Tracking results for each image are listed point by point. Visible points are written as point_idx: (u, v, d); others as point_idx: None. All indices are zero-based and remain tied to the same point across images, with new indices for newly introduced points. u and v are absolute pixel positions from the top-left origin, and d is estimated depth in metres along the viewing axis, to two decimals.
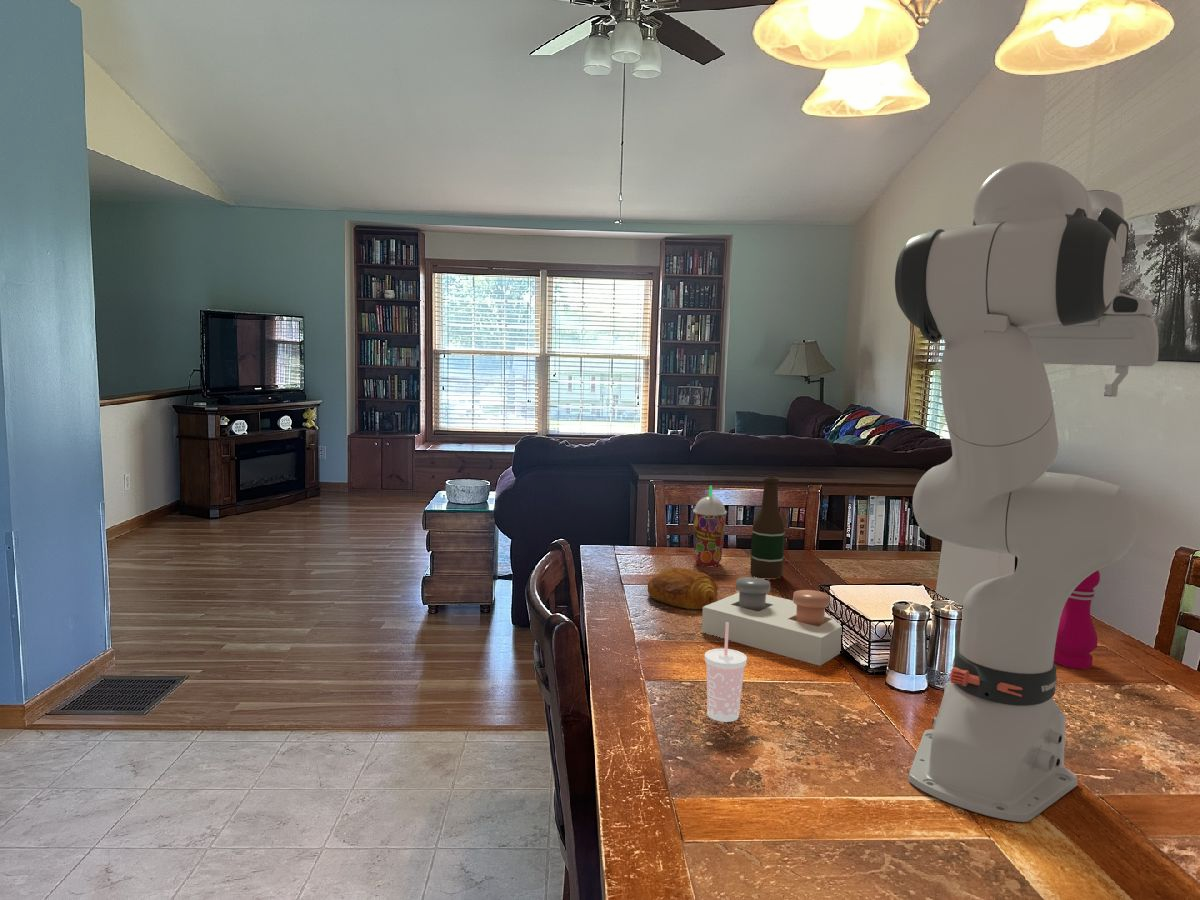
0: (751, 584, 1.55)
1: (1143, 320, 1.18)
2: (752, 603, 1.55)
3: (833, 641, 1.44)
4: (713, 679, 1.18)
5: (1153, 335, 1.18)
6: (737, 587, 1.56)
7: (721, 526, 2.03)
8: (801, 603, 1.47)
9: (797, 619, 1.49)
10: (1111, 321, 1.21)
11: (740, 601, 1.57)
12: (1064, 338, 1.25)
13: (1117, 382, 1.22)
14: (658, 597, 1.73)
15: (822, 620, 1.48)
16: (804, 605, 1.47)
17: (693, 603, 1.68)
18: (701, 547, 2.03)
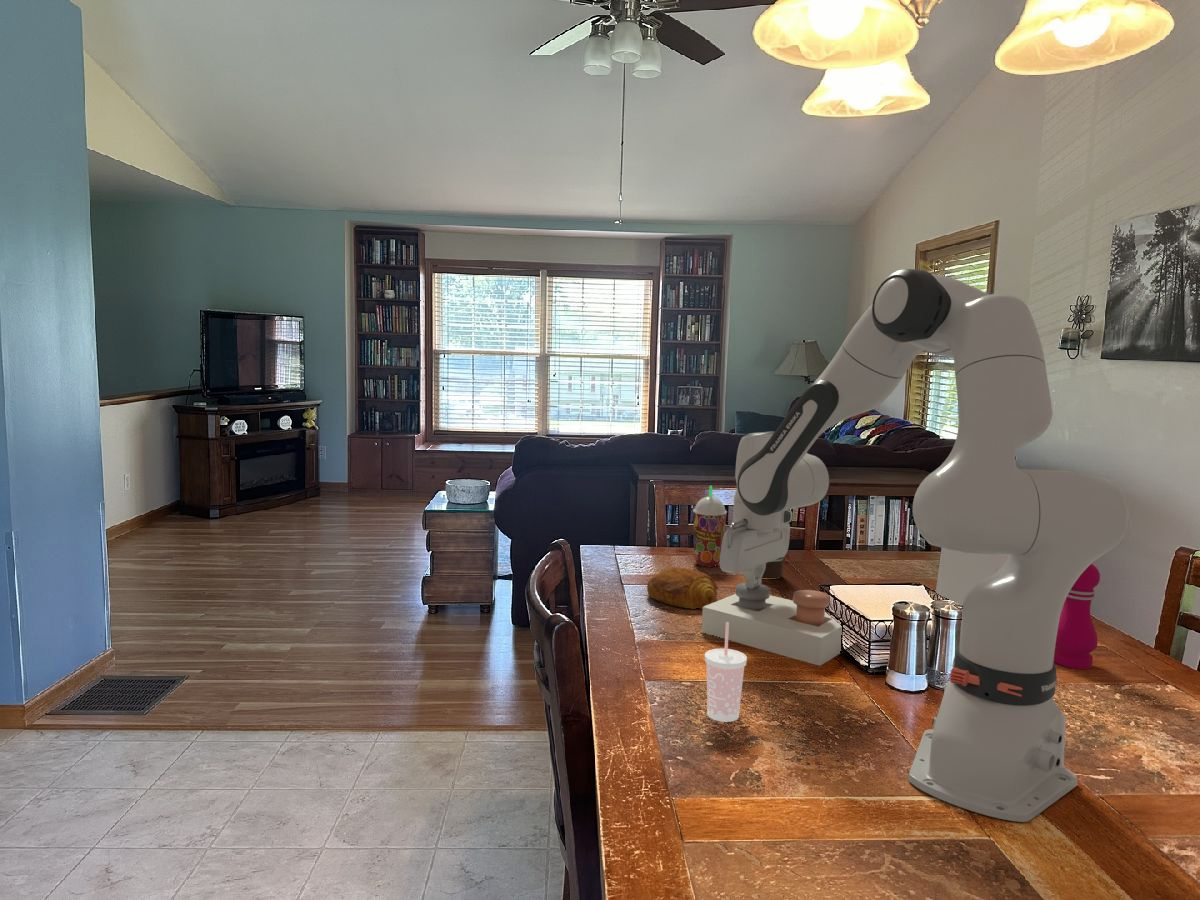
0: (751, 590, 1.55)
1: (788, 525, 1.61)
2: (752, 609, 1.55)
3: (833, 641, 1.44)
4: (714, 679, 1.18)
5: (789, 534, 1.62)
6: (737, 593, 1.57)
7: (721, 526, 2.03)
8: (801, 603, 1.47)
9: (797, 619, 1.49)
10: None
11: None
12: (758, 546, 1.54)
13: (762, 575, 1.58)
14: (657, 597, 1.73)
15: (822, 620, 1.48)
16: (804, 605, 1.47)
17: (692, 602, 1.69)
18: (701, 547, 2.03)
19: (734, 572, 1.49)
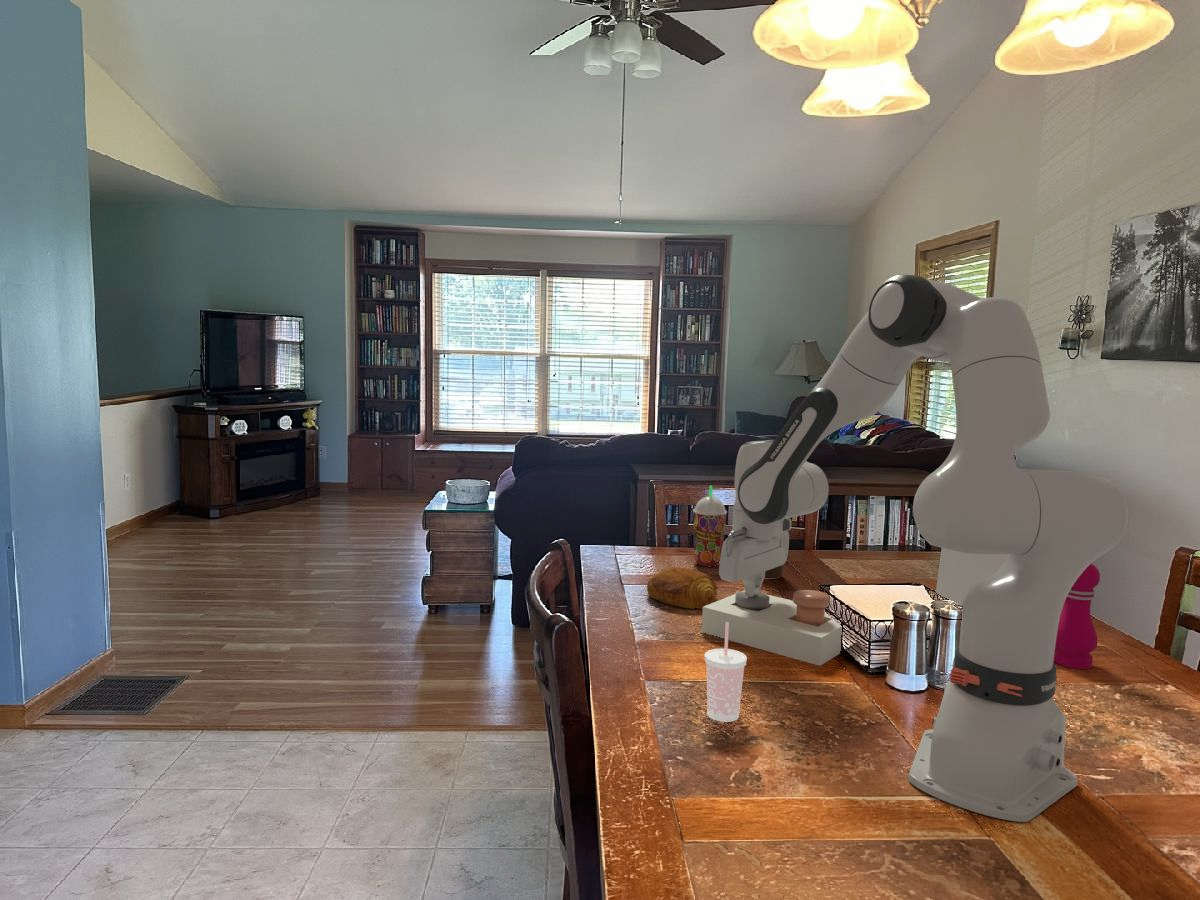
0: (750, 599, 1.55)
1: (787, 533, 1.61)
2: None
3: (833, 641, 1.44)
4: (713, 679, 1.18)
5: (788, 542, 1.62)
6: (736, 602, 1.57)
7: (721, 526, 2.03)
8: (801, 603, 1.47)
9: (797, 619, 1.49)
10: (778, 537, 1.58)
11: None
12: (758, 555, 1.54)
13: (761, 583, 1.58)
14: (657, 597, 1.73)
15: (822, 620, 1.48)
16: (804, 605, 1.47)
17: (692, 602, 1.69)
18: (701, 547, 2.03)
19: (734, 580, 1.49)
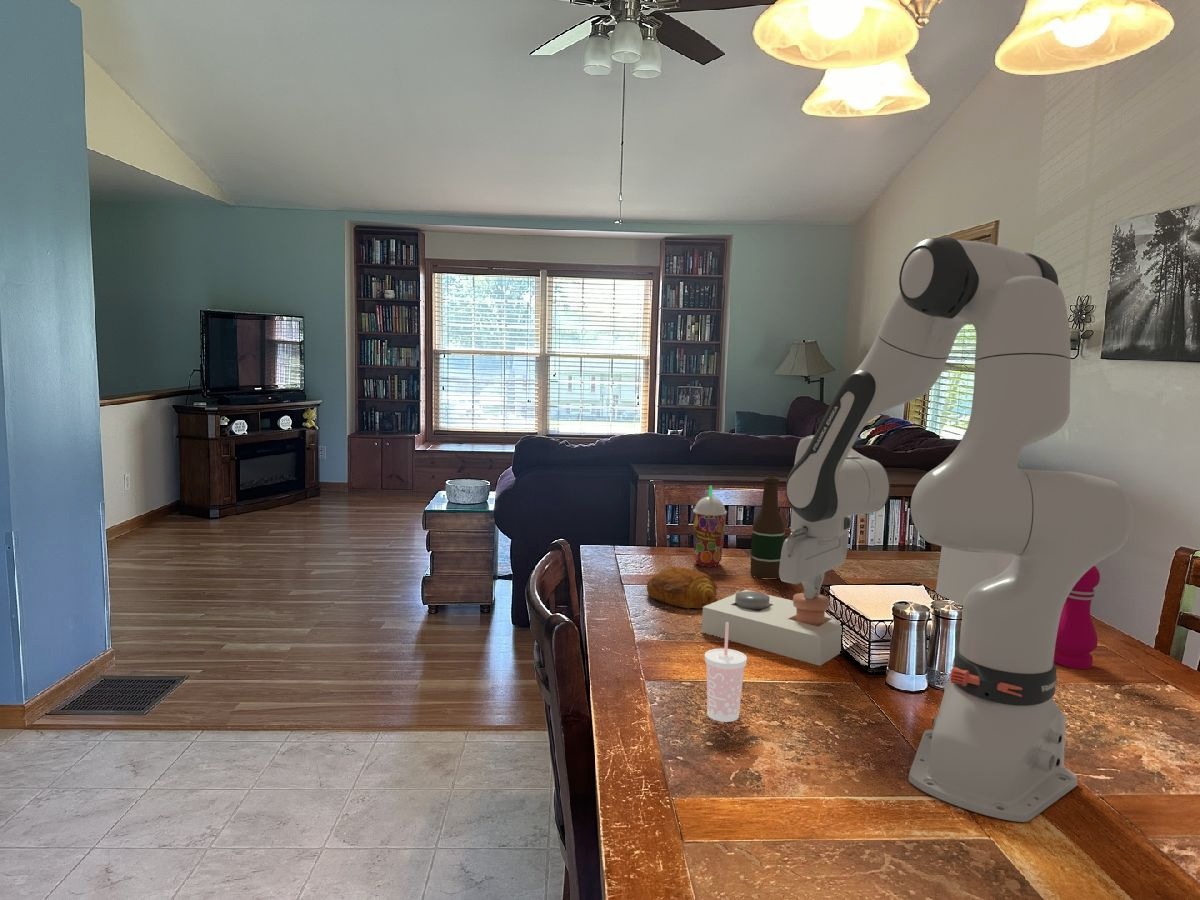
0: (750, 599, 1.55)
1: (847, 532, 1.53)
2: None
3: (833, 641, 1.44)
4: (713, 679, 1.18)
5: (847, 542, 1.54)
6: (736, 602, 1.57)
7: (721, 526, 2.03)
8: (801, 606, 1.47)
9: None
10: (839, 536, 1.50)
11: None
12: (818, 555, 1.46)
13: (820, 585, 1.50)
14: (657, 596, 1.74)
15: (822, 623, 1.48)
16: (804, 608, 1.47)
17: (692, 602, 1.69)
18: (701, 547, 2.03)
19: (795, 582, 1.41)
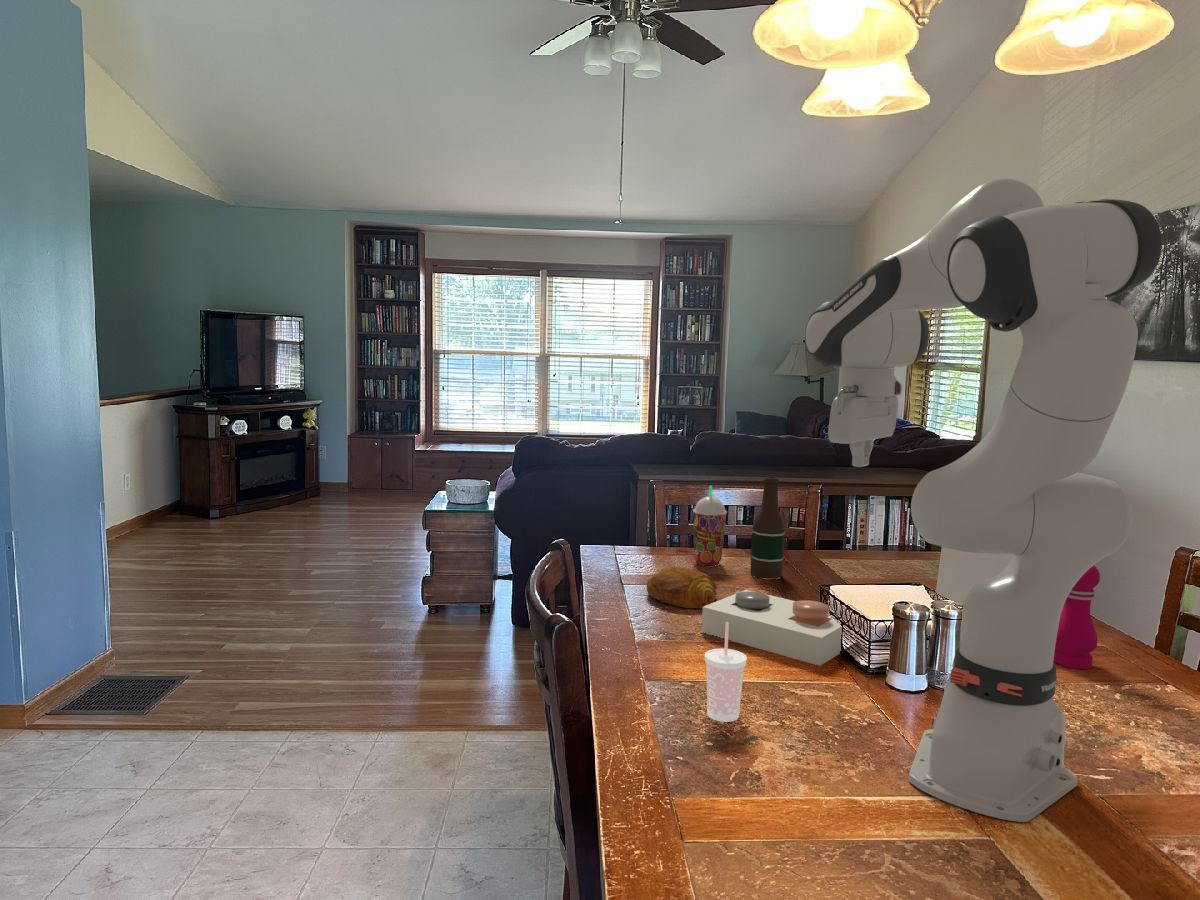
0: (750, 599, 1.55)
1: (897, 400, 1.44)
2: None
3: (833, 641, 1.44)
4: (713, 679, 1.18)
5: None
6: (736, 602, 1.57)
7: (721, 526, 2.03)
8: (800, 614, 1.48)
9: None
10: (889, 401, 1.41)
11: None
12: (869, 417, 1.37)
13: (869, 453, 1.41)
14: (657, 596, 1.74)
15: None
16: (803, 616, 1.47)
17: (691, 602, 1.69)
18: (701, 547, 2.03)
19: (846, 441, 1.32)
